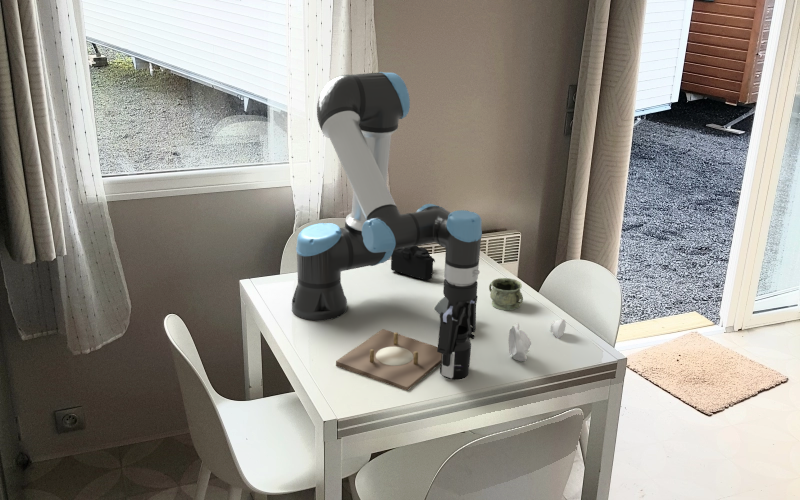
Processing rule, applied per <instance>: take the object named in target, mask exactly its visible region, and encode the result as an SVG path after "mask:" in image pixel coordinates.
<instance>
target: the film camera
mask: <svg viewBox="0 0 800 500" xmlns="http://www.w3.org/2000/svg"><path fill="white" fill-rule="evenodd" d="M390 258H391V260H390V269H391V271H393V272H396V273H399V274H404V275H406V276H409V277H413V278H417V279H419V280H425V281H430V280H431V279H433V271H434V270H433V269H434V263H436V259H435V258H434V257H433V256H432V255H430V253H429V251H428V249H427V248H425V247H423V246H419V245H418V246H412V247H406V248H401V249H396V250H393V253H392V255H391V257H390Z"/></svg>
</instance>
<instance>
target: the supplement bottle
mask: <svg viewBox="0 0 800 500" xmlns="http://www.w3.org/2000/svg"><path fill="white" fill-rule="evenodd" d="M453 352H455V357H454V372H453V378H452V379H451V378H449V377H446V376H443V375H441V373H442V355H443V354H442V353H441V363H440V366H439V374H440V375H441V377H443V378H445V379H447V380H450V381H459V380H460V381H461V380H464V379H466V378H467V377H468V376H469V374H470V363H471V354H472V343H471V339H470V340H469V339H468V329H467V328H466V327H464V326H461V325H459V326H458V331H457V335H456V339H455V344H454V348H453Z"/></svg>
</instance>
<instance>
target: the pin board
mask: <svg viewBox="0 0 800 500" xmlns="http://www.w3.org/2000/svg"><path fill="white" fill-rule="evenodd" d="M437 348H438V346H436V345H432V344H429V343H427V342H424V341H420V340H418V339H414V338H411V337H409V336H406V335H403V334H399V333H398V332H394V331H390V330H387V329H384V328H382V329H381V330H379V331H377V333H375V334H373V335H371V336H370V337H369V338H368V339H366V340H364V341H363V342H361V343H360V344H358V345H357V346H356V347H354V348H353V349H351V350H349V352H347V353H346V354H344V355H343V356H342V357H340V358H339V359H337V360H335V366H336V367H339V368H341V369H345V370H347V371H349V372H353V373H355V374H359V375H362V376H364V377H367V378H370V379H373V380H376V381H378V382H382V383H385V384H388V385H390V386H392V387H395V388H398V389H401V390H405V391H409V390H410V389H411V388H412V387H414V386H415V385H417V383H419V382H420V381H422V380H423V379H424V378H425V377H426V376H427V375H428V374H430V373H431V372H433V370H435V369H436V368H438V366H439V365H440V363H441V353H439V352H437Z"/></svg>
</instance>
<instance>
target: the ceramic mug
mask: <svg viewBox="0 0 800 500" xmlns="http://www.w3.org/2000/svg"><path fill="white" fill-rule="evenodd" d="M448 302H449V301H448V299H447V298H446V297H445V296H444V297H442V298H441V299H440V300H439V301H438V302H437V303H436V304H435V306H434V312H435V311H436V313H437V314H438V315H439V316H440V313H441V312H443V313H445V312H446V311H447V306H448ZM453 320H455V319H453ZM455 321H458V320H455Z"/></svg>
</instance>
